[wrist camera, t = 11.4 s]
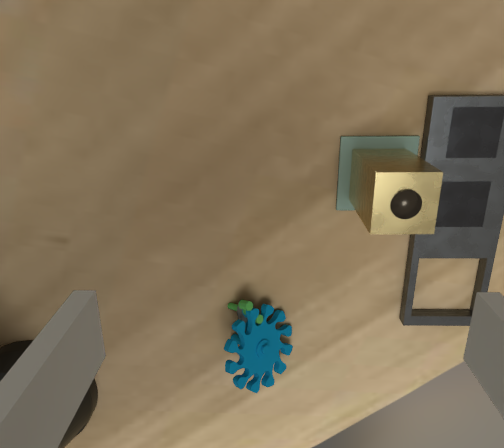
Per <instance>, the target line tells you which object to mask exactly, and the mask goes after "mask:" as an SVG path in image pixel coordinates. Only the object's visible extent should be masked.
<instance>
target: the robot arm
mask: <svg viewBox="0 0 504 448" xmlns="http://www.w3.org/2000/svg"><path fill="white" fill-rule="evenodd" d="M105 356H106V355H105V348H104V342H103V335H102V328H101V322H100V315H99V309H98V302H97V296H96V290H74V291H73V292H72V293H71V295H70V296H69V297H68V298H67V300H66V301H65V302H64V303H63V305H62V306H61V307H60V308H59V309H58V311H57V312H56V313H55V314H54V316H53V317H52V318H51V319H50V321H49V322H48V323H47V324H46V326H45V327H44V328H43V329H42V330H41V332H40V333H39V334H38V335H37V337H36V338H35V339H34V340H33V341H21V342H15V343H11V344H8V345H6V346H4V347H2V348H0V448H64V447H65V446H66V445H67V444H68V443H69V442H70V441H71V440H72V439H73V438H74V437H75V436H77V435H78V434H79V433H80V432H81V431H82V430H83V429H84V428H85V426H86V425H87V423H88V422H89V420H90V418H91V416H92V413H93V411H94V409H95V407H96V404H97V396H98V395H97V387H96V383H95V381H94V377H95V375H96V373H97V372H98V370H99V368H100V366H101V364H102V362H103V360H104V358H105ZM463 359H464V361H465V362H466V364H467V365H468V367H469V368H470V369H471V371H472V373H473V374H474V376H475V377H476V378H477V380H478V381H479V383H480V384H481V386H482V387H483V389H484V390H485V392H486V393H487V395H488V396H489V398H490V399H491V401H492V402H493V404H494V405H495V407H496V408H497V410H498V411H499V413H500V414H501V416H502V417H503V419H504V296H503V295H502V294H501V293H499V292H477V293H476V298H475V303H474V308H473V313H472V318H471V323H470V328H469V333H468V338H467V343H466V348H465V353H464V358H463Z"/></svg>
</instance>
